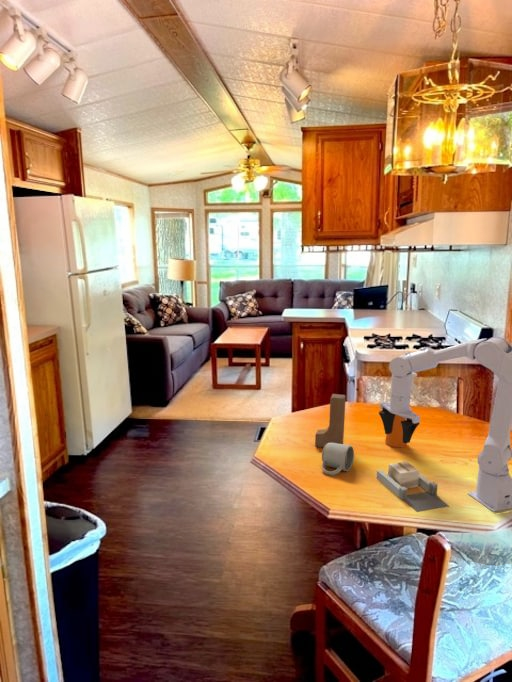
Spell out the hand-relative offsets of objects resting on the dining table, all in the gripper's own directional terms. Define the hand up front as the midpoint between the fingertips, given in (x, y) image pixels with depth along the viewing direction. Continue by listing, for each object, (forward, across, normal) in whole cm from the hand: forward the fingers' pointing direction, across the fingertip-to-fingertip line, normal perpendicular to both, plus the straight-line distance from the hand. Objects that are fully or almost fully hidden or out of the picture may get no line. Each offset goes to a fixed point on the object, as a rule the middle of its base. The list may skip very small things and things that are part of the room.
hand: (397, 437), depth 145 cm
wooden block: (+10, +23, +8) cm, 26 cm away
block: (+10, -8, +5) cm, 14 cm away
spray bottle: (+10, +12, -14) cm, 21 cm away
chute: (+10, -10, +5) cm, 15 cm away
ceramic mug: (+10, +8, +16) cm, 21 cm away
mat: (+10, -18, +7) cm, 22 cm away
